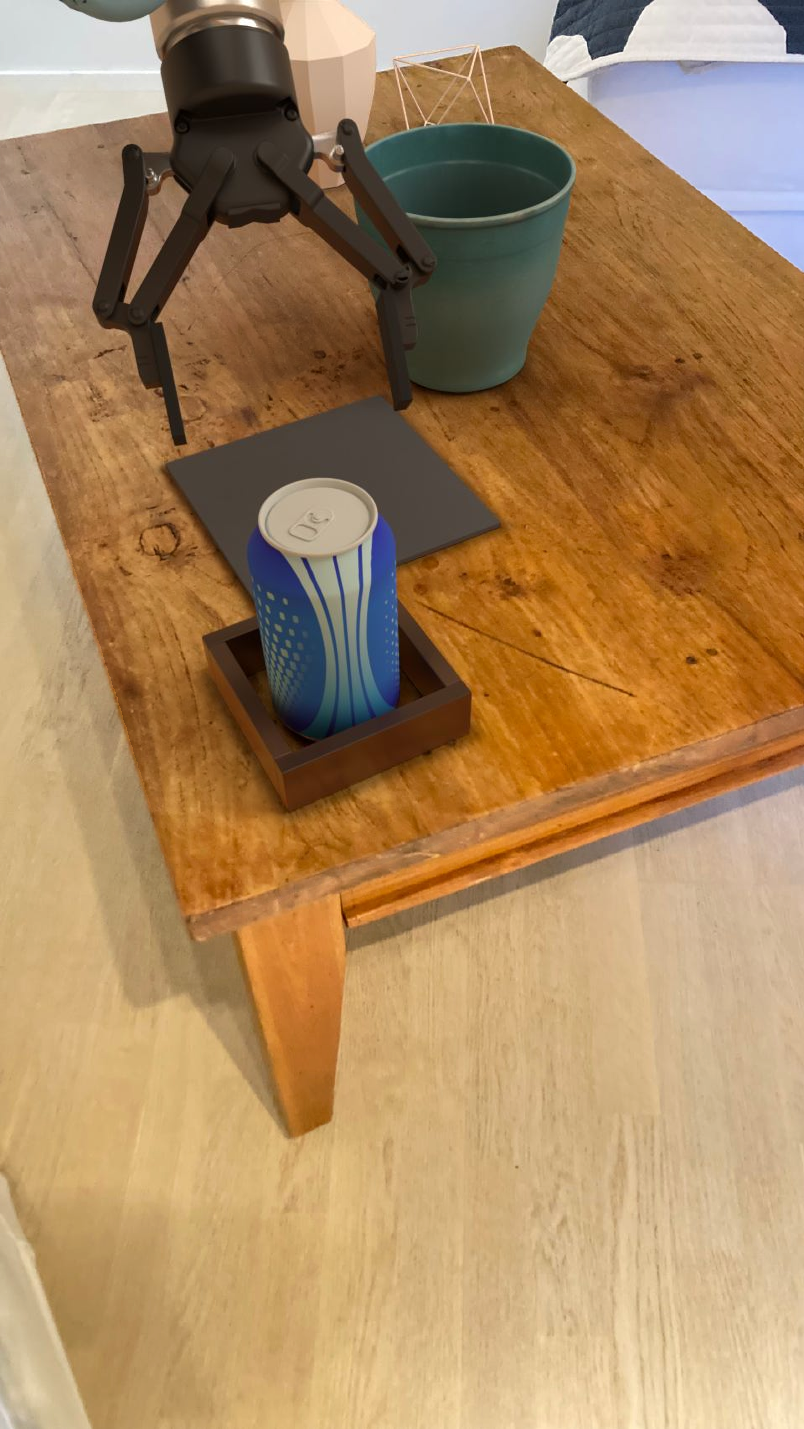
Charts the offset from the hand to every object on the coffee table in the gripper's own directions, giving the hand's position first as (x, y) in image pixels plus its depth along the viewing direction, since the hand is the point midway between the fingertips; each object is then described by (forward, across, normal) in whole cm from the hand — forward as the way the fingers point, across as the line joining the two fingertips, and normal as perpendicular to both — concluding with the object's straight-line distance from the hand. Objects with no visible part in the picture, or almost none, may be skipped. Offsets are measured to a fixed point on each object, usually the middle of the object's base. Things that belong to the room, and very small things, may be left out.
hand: (293, 424), depth 63 cm
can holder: (+17, 0, -5) cm, 18 cm away
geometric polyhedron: (-42, -30, -65) cm, 83 cm away
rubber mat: (+2, -3, -21) cm, 21 cm away
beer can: (+18, 0, -6) cm, 18 cm away
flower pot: (-9, -19, -32) cm, 39 cm away
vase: (-39, -14, -62) cm, 75 cm away
